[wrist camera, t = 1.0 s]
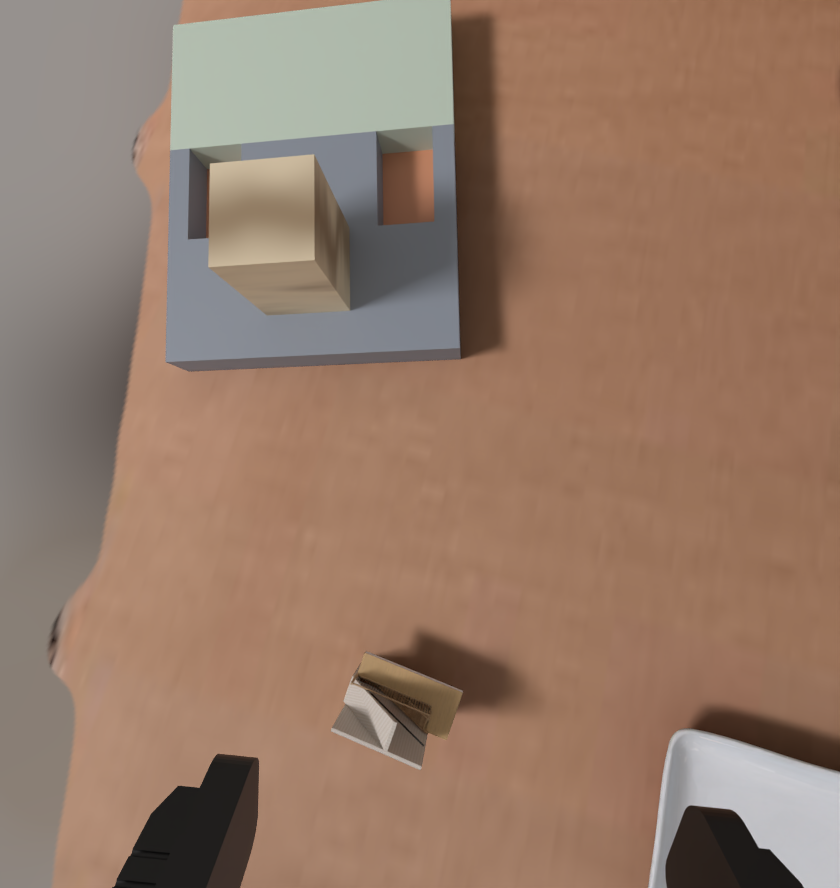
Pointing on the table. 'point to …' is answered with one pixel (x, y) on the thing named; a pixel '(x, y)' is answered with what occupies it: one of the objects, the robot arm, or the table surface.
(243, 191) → the birch block
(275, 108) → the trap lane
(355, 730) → the architectural model
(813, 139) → the table surface
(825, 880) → the salad plate
